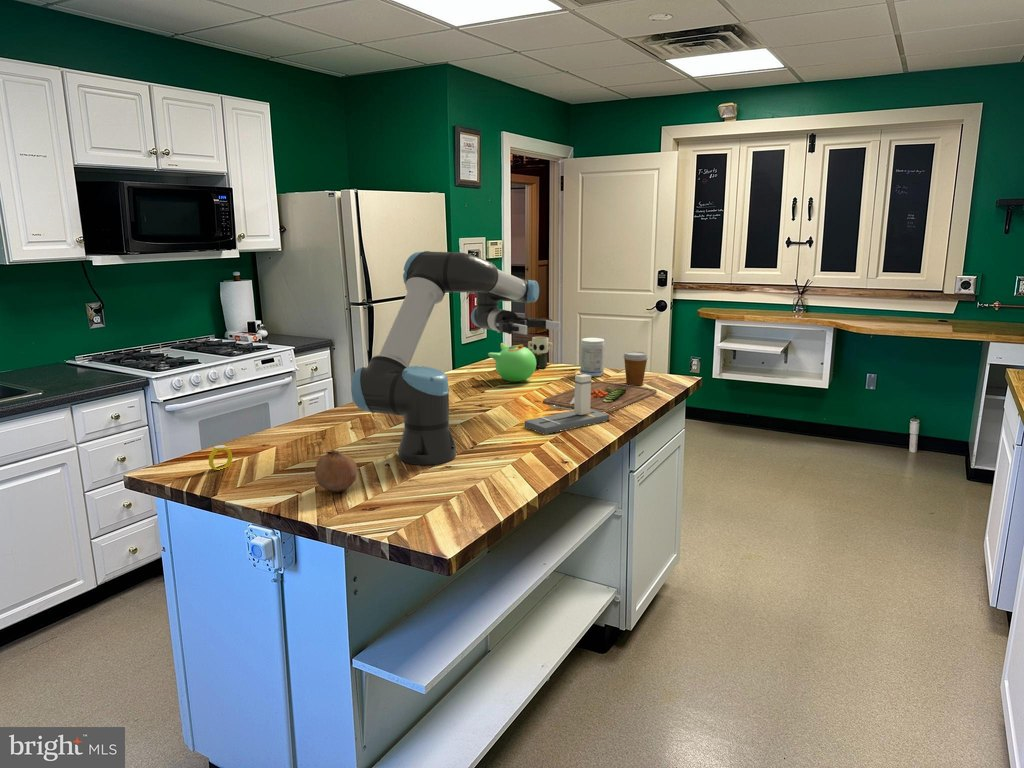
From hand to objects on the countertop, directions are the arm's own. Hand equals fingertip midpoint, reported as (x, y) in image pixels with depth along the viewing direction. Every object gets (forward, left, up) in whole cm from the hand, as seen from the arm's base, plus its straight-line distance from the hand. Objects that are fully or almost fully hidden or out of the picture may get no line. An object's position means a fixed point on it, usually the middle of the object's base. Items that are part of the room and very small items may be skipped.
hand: (543, 328), depth 225 cm
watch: (-99, +6, -28) cm, 103 cm away
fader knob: (+5, -14, -25) cm, 29 cm away
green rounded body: (+23, +46, -28) cm, 58 cm away
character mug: (+48, +60, -28) cm, 82 cm away
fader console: (-1, -14, -28) cm, 31 cm away
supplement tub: (+56, +36, -28) cm, 72 cm away
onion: (-82, -26, -28) cm, 90 cm away
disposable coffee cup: (+58, +14, -28) cm, 66 cm away
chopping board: (+32, +6, -29) cm, 43 cm away
